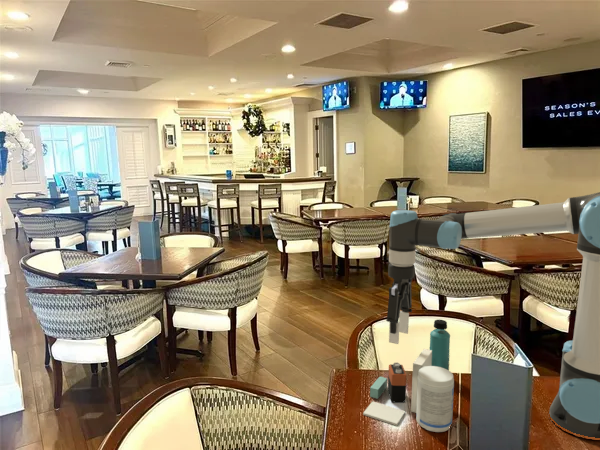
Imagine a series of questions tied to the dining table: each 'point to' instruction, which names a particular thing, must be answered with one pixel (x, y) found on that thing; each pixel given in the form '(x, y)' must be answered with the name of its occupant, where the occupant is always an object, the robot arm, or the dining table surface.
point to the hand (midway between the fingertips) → (398, 337)
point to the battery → (397, 383)
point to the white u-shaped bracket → (420, 362)
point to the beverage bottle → (440, 344)
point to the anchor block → (378, 387)
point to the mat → (384, 413)
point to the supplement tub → (435, 398)
